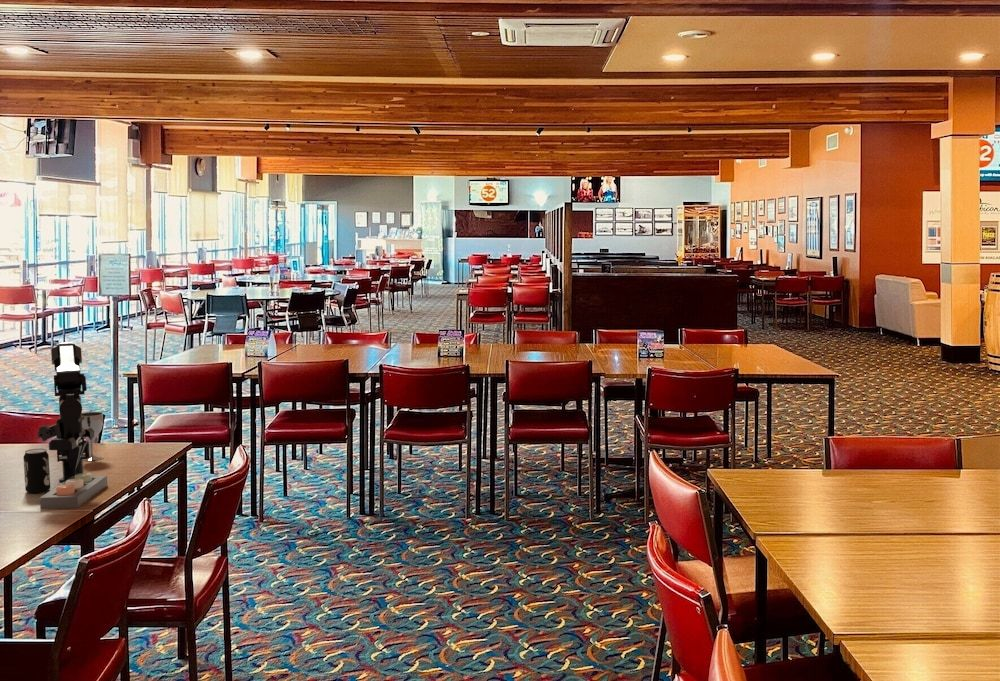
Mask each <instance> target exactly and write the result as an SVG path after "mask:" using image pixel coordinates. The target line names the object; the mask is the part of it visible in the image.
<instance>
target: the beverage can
mask: <svg viewBox="0 0 1000 681" xmlns="http://www.w3.org/2000/svg"><path fill="white" fill-rule="evenodd" d="M47 451H48V450H47V449H46V448H32V449H31V448H30V449H27V450H24V455H23V458H22V459H23V470H24V472H23V473H24V484H25V485H24V487H25V490H24V491H25V492H27V493H28V494H30V493H31V494H32V495H33V494H34V495H37V494H38V493H39V494H44V493H48V492H49V491H50V489H51V473H50V460H49V459H50V457H49V456H50V455H49V453H48V452H47ZM43 492H44V493H43ZM31 494H30V495H31Z"/></svg>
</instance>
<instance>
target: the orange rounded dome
mask: <svg viewBox="0 0 1000 681" xmlns="http://www.w3.org/2000/svg"><path fill="white" fill-rule="evenodd" d="M57 486H58V485H57ZM57 486H55V487H56V495H72V494H74V493H75V491H74V485H62V486H58V487H57Z"/></svg>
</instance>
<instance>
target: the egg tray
mask: <svg viewBox="0 0 1000 681" xmlns="http://www.w3.org/2000/svg"><path fill="white" fill-rule="evenodd" d="M70 479H75V476H72V477H71V478H69V479H68V480H70ZM66 481H67V480H66ZM66 481H62V482H61V483H60V484H59V485H57V486H55V487H54V488H52V489H51V490H48V491H47V492H45V494H43V495H42V496H40V497H39V508H40V509H72V508H73V509H75V508H76V509H79V508H80V507H81V506H82V505H84V504H85V503H87V502H88V501H89V500H90V499H92V498H93V497H94V496H96V495H97V494H99V493H100V492H101V491H102V490H104V489H105V488H106V487H107V486H108V475H92V481H91V482H83V485H84V487H82V488H78V489H74V491H75V493H74V494H72V495H56V487H58V486H62V485H66ZM105 486H106V487H105ZM104 487H105V488H104ZM103 488H104V489H103ZM101 489H102V490H101ZM100 490H101V491H100ZM99 491H100V492H99ZM96 493H97V494H96ZM95 494H96V495H95ZM93 495H94V496H93ZM92 496H93V497H92ZM91 497H92V498H91ZM89 498H90V499H89ZM88 499H89V500H88ZM87 500H88V501H87ZM83 503H84V504H83Z"/></svg>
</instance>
